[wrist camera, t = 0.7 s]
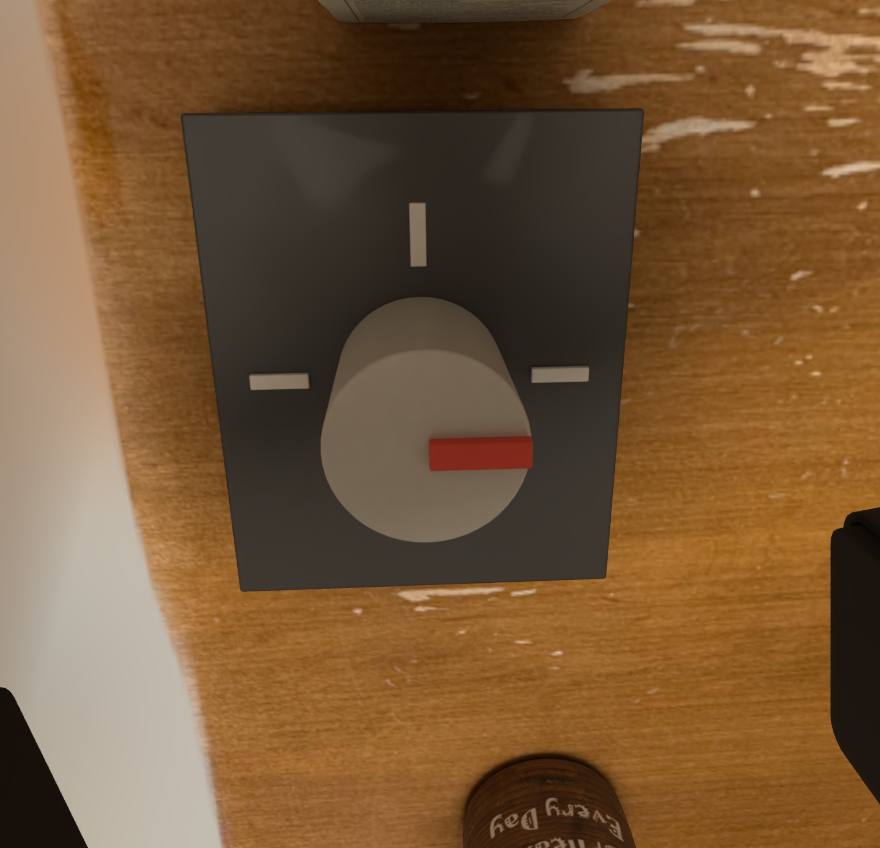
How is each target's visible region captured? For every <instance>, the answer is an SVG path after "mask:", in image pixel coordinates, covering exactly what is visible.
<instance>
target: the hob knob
mask: <svg viewBox="0 0 880 848" xmlns="http://www.w3.org/2000/svg"><path fill="white" fill-rule="evenodd" d="M532 454H533V442H532V439H531V431H530V425H529V421H528V418H527V415H526V412H525V409H524V406H523V404H522V402H521V400H520V397H519V395H518V393H517V390H516V388H515V386H514V383H513V381H512V379H511V376H510V374H509V372H508V369H507V367H506V365H505V362H504V360H503V358H502V355H501V353H500V351H499V348H498V346H497V344H496V342H495V340H494V338H493V336H492V335H491V333H490V332H489V330H488V329H487V328H486V327H485V325H484V324H483V323H482V322H481V321H480V320H479V319H478V318H477V317H475V316H474V315H473V314H472V313H470V312H469V311H467V310H466V309H464V308H463V307H461V306H459V305H456V304H454V303H452V302H449V301H446V300H442V299H438V298H432V297H411V298H405V299H400V300H396V301H393V302H390V303H388V304H385V305H383V306H382V307H380V308H378V309H376V310H374V311H373V312H372V313H370V314H369V315H367V316H366V317H365V318H364V319H363V320H362V321H361V322H360V323H359V324H358V325H357V326H356V327H355V329H354V330H353V331H352V333H351V334H350V336H349V337H348V339H347V341H346V343H345V345H344V348H343V350H342V353H341V356H340V360H339V364H338V368H337V372H336V376H335V380H334V384H333V388H332V392H331V396H330V400H329V404H328V408H327V412H326V416H325V420H324V424H323V428H322V435H321V458H322V465H323V469H324V472H325V475H326V478H327V481H328V483H329V485H330V487H331V489H332V491H333V492H334V494H335V496H336V497H337V499H338V500H339V501H340V503H341V504H342V505H343V506H344V507H345V509H346V510H347V511H348V512H349V513H351V514H352V515H353V516H354V517H355V518H356V519H357V520H359V521H360V522H361V523H363V524H364V525H366V526H367V527H369V528H371V529H373V530H375V531H377V532H378V533H381V534H384V535H386V536H389V537H392V538H396V539H399V540H404V541H411V542H439V541H445V540H450V539H454V538H457V537H460V536H464V535H467V534H469V533H471V532H473V531H475V530H477V529H479V528H481V527H482V526H484V525H486V524H487V523H489V522H490V521H491V520H493V519H494V518H495V517H496V516H498V515H499V514H500V513H501V512H502V511H503V510H504V509H505V508H506V507H507V506H508V504H509V503H510V502H511V500H512V499H513V498H514V496H515V495H516V494H517V492H518V490H519V488H520V487H521V485H522V483H523V481H524V478H525V476H526V473H527V470H528V468H532Z"/></svg>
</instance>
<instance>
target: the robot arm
mask: <svg viewBox="0 0 880 848" xmlns="http://www.w3.org/2000/svg"><path fill="white" fill-rule="evenodd" d="M831 724H832V728H833V732H834V735H835V738H836V740H837V742H838V744H839V747H840V748H841V750H842V752H843V753H844V755H845V756H846V758H847V759H848V760H849V762H850V763H851V765H852V766H853V767H854V769H855V770H856V772H857V773H858V774H859V776H860V777H861V779H862V780H863V781H864V783H865V784H866V786H867V787H868V788H869V790H870V791H871V793H872V794H873V795H874V797H875V798H876V800H877V801H878V802H879V804H880V507H879V508H873V509H868V510H863V511H857V512H852V513H851V514H849V515H848V516H847V517H846V519H845V522H844V527H843V528H839V529H836V530H835V531H833V534H832V536H831ZM0 848H88V847H87V845H86V843H85V841H84V839H83V837H82V835H81V833H80V831H79V829H78V827H77V825H76V822H75V820H74V818H73V817H72V814H71V812H70V810H69V808H68V806H67V804H66V802H65V800H64V798H63V796H62V794H61V792H60V790H59V788H58V786H57V784H56V782H55V780H54V778H53V775H52V773H51V771H50V769H49V767H48V765H47V763H46V761H45V759H44V757H43V755H42V753H41V751H40V749H39V747H38V745H37V743H36V741H35V739H34V737H33V735H32V733H31V730H30V729H29V726H28V724H27V722H26V720H25V719H24V716H23V714H22V712H21V710H20V708H19V706H18V704H17V702H16V700H15V698H14V696H13V695H12V693H11V692H10V691H9V690H7V689H6V688H2V687H0Z"/></svg>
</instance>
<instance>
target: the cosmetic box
mask: <svg viewBox="0 0 880 848" xmlns="http://www.w3.org/2000/svg"><path fill="white" fill-rule="evenodd" d="M318 1H319V2H320V3H321V4H322V5H323V6H324V7H325V8H326V9H327V10H328V11H329V12H330V13H331V15H332V16H333V17H335V18H336V19H337V20H338V21H341V22H370V23H456V22H504V21H534V20H556V19H576V18H580V17H582V16H584V15H586V14H587V13H590V12H592V11H594V10H595V9H597V8H599V7H601V6H603V5H605V4H607V3H608V2H610V1H612V0H318Z"/></svg>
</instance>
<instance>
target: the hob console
mask: <svg viewBox="0 0 880 848" xmlns="http://www.w3.org/2000/svg"><path fill="white" fill-rule="evenodd" d="M643 119H644V110H643V109H641V108H630V109H535V110H440V111H345V112H249V113H183V114H182V115H181V122H182V130H183V138H184V146H185V154H186V162H187V170H188V178H189V186H190V194H191V202H192V210H193V218H194V226H195V234H196V242H197V250H198V258H199V265H200V273H201V281H202V289H203V297H204V305H205V313H206V321H207V329H208V337H209V345H210V353H211V361H212V369H213V377H214V385H215V393H216V401H217V409H218V417H219V425H220V433H221V441H222V448H223V456H224V464H225V472H226V480H227V488H228V496H229V504H230V512H231V520H232V528H233V536H234V544H235V552H236V560H237V568H238V576H239V584H240V590H241V591H242V592H248V591H275V590H303V589H330V588H358V587H385V586H413V585H441V584H468V583H496V582H523V581H551V580H579V579H604V578H605V577H606V571H607V558H608V546H609V534H610V522H611V509H612V497H613V485H614V473H615V461H616V448H617V436H618V424H619V412H620V400H621V387H622V375H623V363H624V351H625V338H626V326H627V314H628V302H629V290H630V277H631V265H632V253H633V241H634V229H635V216H636V204H637V192H638V180H639V168H640V155H641V143H642V131H643ZM411 297H432V298H438V299H442V300H446V301H449V302H452V303H454V304H456V305H459V306H461V307H463V308H464V309H466V310H467V311H469V312H470V313H472V314H473V315H474V316H475V317H477V318H478V319H479V320H480V321H481V322H482V323H483V324H484V325H485V327H486V328H487V329H488V330H489V332H490V333H491V335H492V336H493V338H494V340H495V342H496V344H497V346H498V348H499V351H500V353H501V355H502V358H503V360H504V362H505V365H506V367H507V369H508V372H509V374H510V376H511V379H512V381H513V383H514V386H515V388H516V390H517V393H518V395H519V397H520V400H521V402H522V404H523V406H524V409H525V412H526V415H527V418H528V421H529V425H530V431H531V439H532V442H533V454H532V468H528V470H527V473H526V476H525V478H524V481H523V483H522V485H521V487H520V488H519V490H518V492H517V494H516V495H515V496H514V498H513V499H512V500H511V502H510V503H509V504H508V506H507V507H506V508H505V509H504V510H503V511H502V512H501V513H500V514H499V515H498V516H496V517H495V518H494V519H493V520H491V521H490V522H489V523H487V524H486V525H484V526H482V527H481V528H479V529H477V530H475V531H473V532H471V533H469V534H467V535H464V536H460V537H457V538H454V539H450V540H445V541H439V542H411V541H404V540H399V539H396V538H392V537H389V536H386V535H384V534H381V533H378V532H377V531H375V530H373V529H371V528H369V527H367V526H366V525H364V524H363V523H361V522H360V521H359V520H357V519H356V518H355V517H354V516H353V515H352V514H351V513H349V512H348V511H347V510H346V509H345V507H344V506H343V505H342V504H341V503H340V501H339V500H338V499H337V497H336V496H335V494H334V492H333V491H332V489H331V487H330V485H329V483H328V481H327V478H326V475H325V472H324V469H323V465H322V458H321V435H322V428H323V424H324V420H325V416H326V412H327V408H328V404H329V400H330V396H331V392H332V388H333V384H334V380H335V376H336V372H337V368H338V364H339V360H340V356H341V353H342V350H343V348H344V345H345V343H346V341H347V339H348V337H349V336H350V334H351V333H352V331H353V330H354V329H355V327H356V326H357V325H358V324H359V323H360V322H361V321H362V320H363V319H364V318H365V317H366V316H367V315H369V314H370V313H372V312H373V311H374V310H376V309H378V308H380V307H382V306H383V305H385V304H388V303H390V302H393V301H396V300H400V299H405V298H411Z"/></svg>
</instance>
